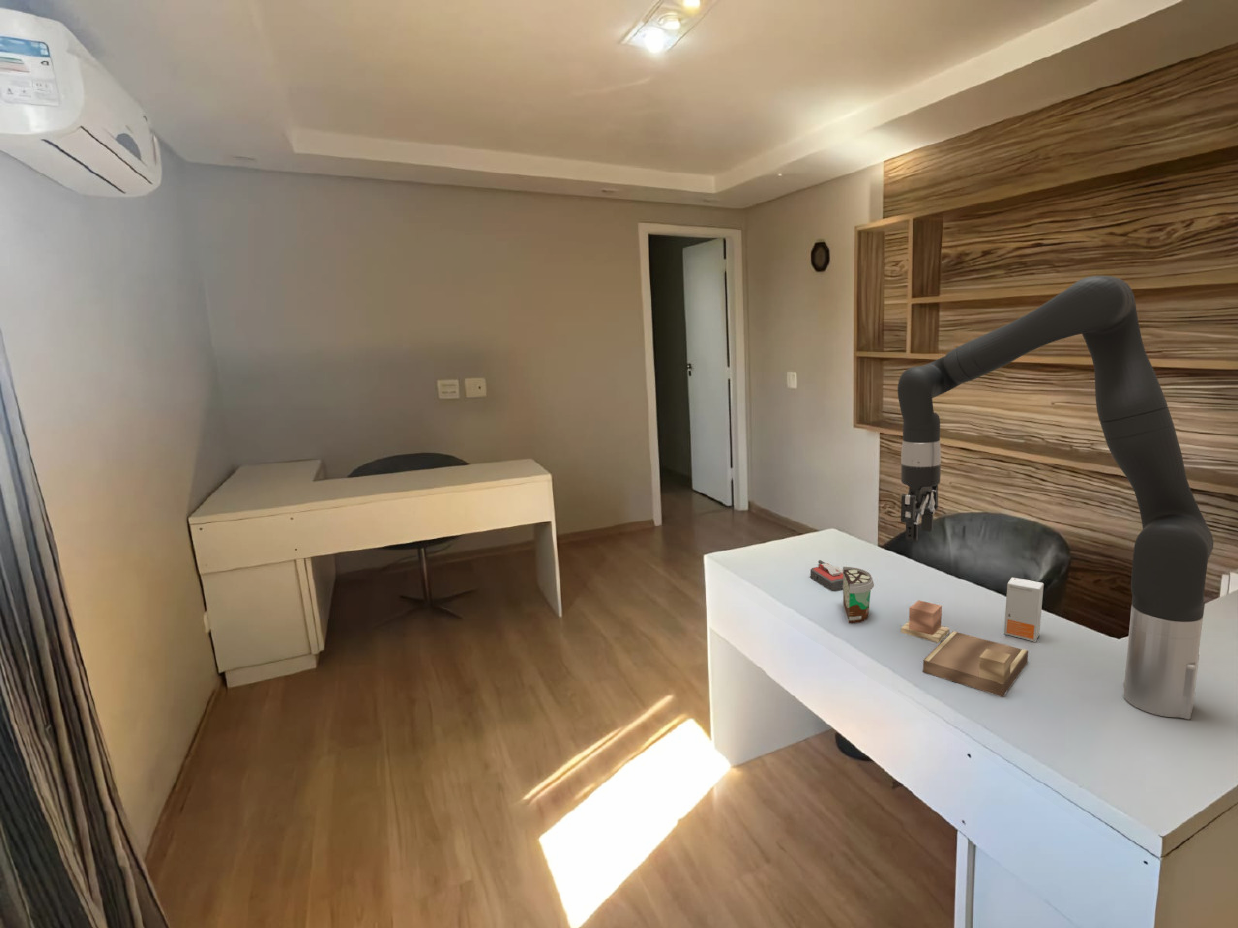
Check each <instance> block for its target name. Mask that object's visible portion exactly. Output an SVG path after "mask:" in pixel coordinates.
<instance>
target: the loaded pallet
mask: <svg viewBox="0 0 1238 928" xmlns="http://www.w3.org/2000/svg"><path fill="white" fill-rule="evenodd" d="M908 613H909V614H908V615H909V616H908V617H909V619H908V622H906V623H904V625H902V626H901V627H900V629H901V630H900V632H901V634H906V635H908V636H912V637H916V638H920V639H922V640H927V641H931V642H934V643H938V644H940V643H941V642H942V641H943V640H944V639H945V638H946V637H947V636H948V635H949V634H950V628H949V627H946V626H942V615H943V614H942V613H943V605H939V604H936V603H930V602H927V601H922V600H919V599H918V600H917V601H916V602H914V603H913V604H912V605H910V606H909V611H908Z"/></svg>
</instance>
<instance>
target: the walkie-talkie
mask: <svg viewBox="0 0 1238 928" xmlns="http://www.w3.org/2000/svg"><path fill="white" fill-rule="evenodd" d="M817 563H818V566H816V567H812V568H810V570H809V571H810V575H809V576H810V579H811V580H813V581H815V582H816V583H818V584H820V585H821V586H823V587H824V588H826V589H827V590H829V591H831V592H839V591H840V592H841V591H843V568H840V567H839V566H833V565H831V564H829V563H827V562H824V561H823V560H821V559H819V560H818V562H817Z"/></svg>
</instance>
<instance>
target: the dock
mask: <svg viewBox="0 0 1238 928" xmlns="http://www.w3.org/2000/svg"><path fill="white" fill-rule="evenodd" d="M986 649H990V650H994V651H998V652H1002V653H1006V654H1010V655H1011V659H1010V676H1009V677H1008V678H1007V680H1006V681H1005V682H1004V684H1003V683H999V682H996V681H992V680H988V679H985V678H981V677H979V657H980V656H981V655H982V653H983V652H984V651H985V650H986ZM1028 661H1029V650H1028V649H1025V648H1018V647H1015V646H1012V645H1007V644H1002V643H999V642H995V641H991V640H988V639H984V638H980V637H977V636H973V635H969V634H965V633H961V632H958V631H955V630H952V631H951V632H949V633H948V634H947V635H946V636H945V637H944V638H943V639H942V640H941V641H940V642H939V643H938V645H937V646H936V647H935V648H934V649H933V650H932V651H931V652H930V653H929V654H928V655H927V656H925V658H924V659H923V662H922V672H923V673H924V674H929V675H930V676H932V675H933V676H936V677H938V678H942V679H944V680H948V681H951V682H954V683H958V684H960V685H964V686H967V687H970V688H974V689H977V690H980V691H983V692H985V693H989V694H992V695H995V696H999V697H1002V698H1003V697H1004V696H1005V694H1006V693H1007V692H1008V691H1009V689H1010V688H1011V686H1012V685H1013V684H1014V682H1015V681H1016V679H1017V678H1018V677H1019V675H1020V674H1021V672H1022V671H1023V670H1024V669H1025V667H1026V666H1027V664H1028Z"/></svg>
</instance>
